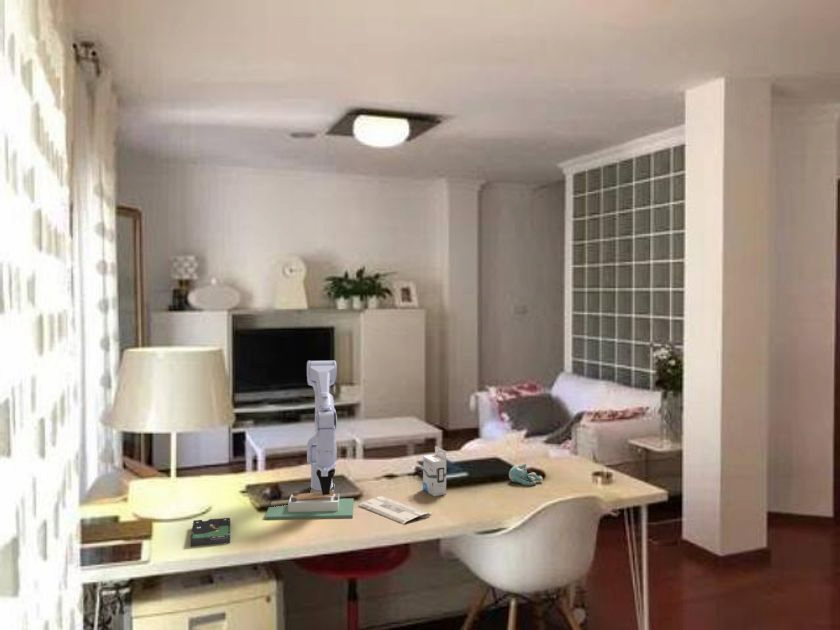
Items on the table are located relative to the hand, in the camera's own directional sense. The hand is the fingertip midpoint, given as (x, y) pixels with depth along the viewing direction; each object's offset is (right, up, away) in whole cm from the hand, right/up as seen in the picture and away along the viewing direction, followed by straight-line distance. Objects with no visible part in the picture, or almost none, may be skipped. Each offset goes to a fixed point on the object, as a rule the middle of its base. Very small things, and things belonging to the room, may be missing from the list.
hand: (325, 493), depth 213 cm
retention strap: (-4, -1, 0) cm, 4 cm away
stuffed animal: (+67, -5, +31) cm, 74 cm away
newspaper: (+21, -6, 0) cm, 22 cm away
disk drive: (-29, -7, -22) cm, 37 cm away
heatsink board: (-5, -5, 0) cm, 7 cm away
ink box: (+34, -5, +19) cm, 39 cm away
